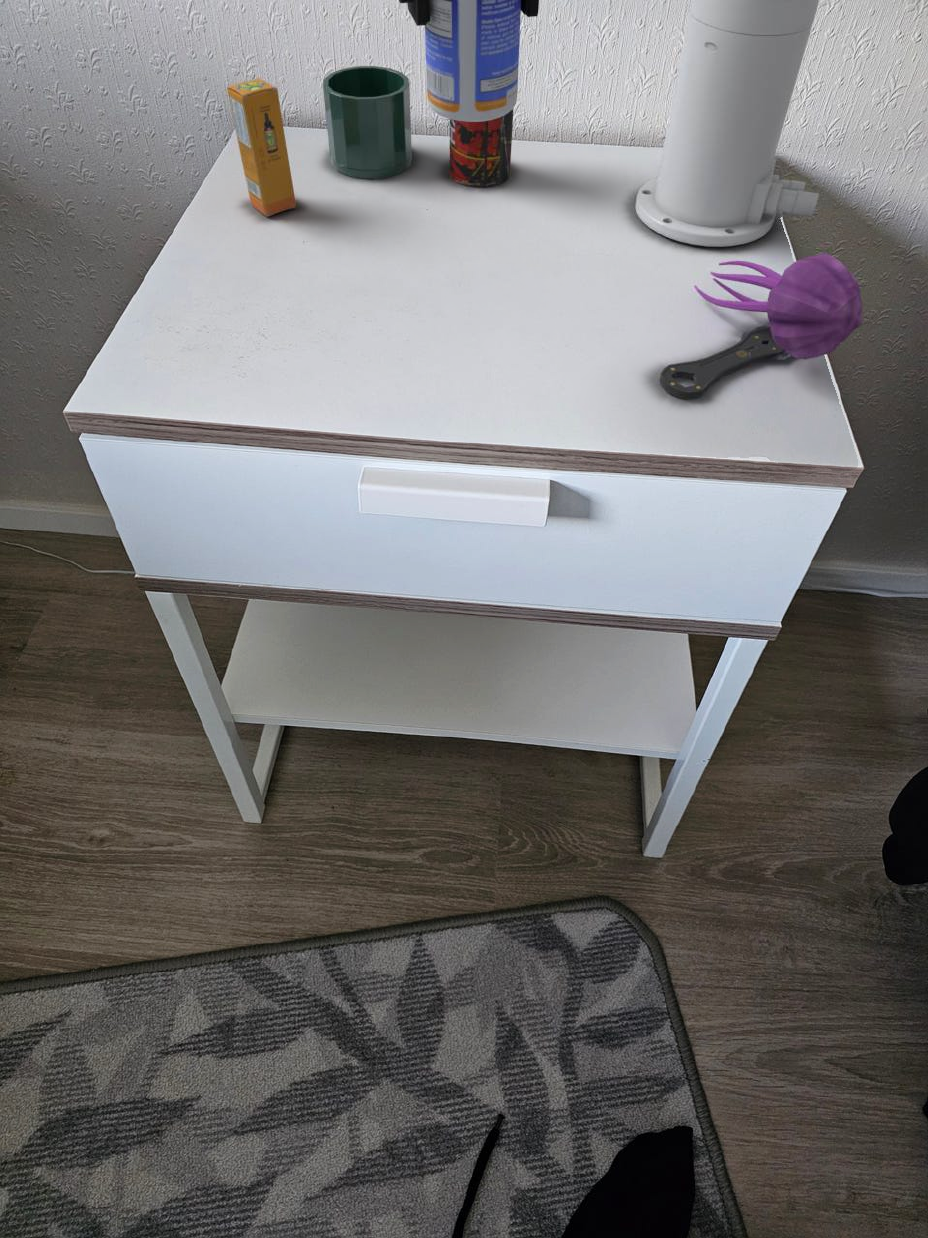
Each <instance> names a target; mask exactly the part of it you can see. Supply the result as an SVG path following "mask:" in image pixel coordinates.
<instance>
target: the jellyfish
mask: <svg viewBox="0 0 928 1238" xmlns="http://www.w3.org/2000/svg"><path fill="white" fill-rule="evenodd" d="M718 266H741V267H747V268H749V269H752V270H754V271H756V272H758V273H760V274H761V275H758V274H757V275H755V274H748V273H747V274H745V273H744V274H743V273H718V272H714V271H710V275H711V276H713V278H712V281H713V282H715V283H716V284H717V285H718V286H720V287H721V288H722V289H723V290H725V291H726V292H727V293H729V294H730V295H731V296H733V297H734V298H736V299H738V300H726V299H724V300H723V299H719V298H715V297H713V296H710V295H708V294H706V293H705V292H704V291H702V290H701V289H700V288H699V287H698V286H697V285H694V286H693V287H694V289H695V291H696V293H698V294H699V295H700V296H701V297H702V298H703V299H704V300H706V301H707V302H709V303H710V304H713V305H715V306H718V307H721V308H725V309H730V310H737V311H745V312H755V313H766V314H767V320H768V324H770V329H771V333H772V337H773V339H774V341H775V343H776V344H777V346H779V347H781V348H782V349H784V350H786V351H787V352H788V353H789V354H790V355H791V356H790V357H793V358H795V359H799V360H810V359H815V358H818V357H822V356H826V355H829V354H831V353H832V352H834V351H835V350H836V349H837V347H838V346H839V345H840V343H842V342H845V340H847V338H848V337H850V335H851V334H852V333H853V332H854V331H855V330H856V329H857V328H859V327H860V326H862V325H863V301H862V300H863V299H862V295H861V288H860V284H859V281H858V280H857V278H856V276H854V274H852V272H851V271H850V270H849V268H848V267H847V266H846V265H845V264H844V263H843V262H842V261H841V260H839V259H837V258H836V257H834V256H832V255H830V254H827V253H825V252H823V253H819V254H816V255H815V254H814V255H812V256H808V257H807V256H806V257H804V258H801V259H799V260H796V261H793V262H792V263H791V264H790V265H789V266H787V267H786V268H784V270H783V273H782V274H779V273H778V272H776V271H775V270H773V269H771V268H769V267H767V266H765V265H761V264H758V263H754V262H750V261H745V260H729V261H725V262H724V261H722V262H718ZM716 278H717V279H716ZM718 279H721V280H726V281H730V282H731V281H732V282H738V283H744V284H749V285H753V286H757V287H761V288H764V289H767V290H770V291H769V292H768V296H767V301H760V300H756V299H753V298H751V297H749V296H746V295H743V294H742V293H739V292H738V291H736V290H734V289H732V288H731V287H729V286H727V285H726V284H724V283H723V282H721V281H720V280H718Z"/></svg>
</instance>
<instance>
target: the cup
mask: <svg viewBox="0 0 928 1238" xmlns="http://www.w3.org/2000/svg"><path fill="white" fill-rule="evenodd" d="M322 89H323V90H322V91H323V101H324V102H323V103H324V110H325V120H326V130H327V138H328V139H327V140H328V148H329V156H330V163H331V165H332V167H333V168H334V169H335V170H336V171H337V172H338V173H341V174H343V175H345V176H348V177H351V178H358V179H366V180H367V179H371V180H373V179H382V178H388V177H393V176H396V175H398V174H400V173H403V172H404V171H406V170H407V169H408V168H409V167H410V166H411V163H412V159H413V158H412V153H413V151H412V149H413V147H412V124H411V123H412V120H411V119H412V117H411V90H410V89H411V88H410V79H409V77H408V76H407V75H405V74H404V73H403V72H401V71H399V70H396V69H393V68H390V67H384V66H383V67H382V66H378V65H377V66H376V65H358V66H357V65H356V66H351V67H344V68H340V69H338V70H336V71H333V72H330V73H329V74H328V75H326V77H324V78H323V80H322Z"/></svg>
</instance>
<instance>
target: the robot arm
mask: <svg viewBox="0 0 928 1238" xmlns="http://www.w3.org/2000/svg"><path fill="white" fill-rule="evenodd" d="M398 2H399V4H406V5H407V10H408V12H409V14H410V16H411V17H412V19H413V21H414V23H415V25H416V26H417V27H420V26H425V25H427V22H430V0H398ZM819 3H820V0H690V5H689V10H688V14H687V21H686V25H685V26H686V27H685V32H684V38H683V42H682V47H681V53H680V58H679V62H678V67H677V68H678V69H677V74H676V79H675V84H674V89H673V93H672V98H671V99H672V100H671V104H670V110H669V114H668V115H669V116H668V121H667V127H666V131H665V137H664V143H663V148H662V153H661V158H660V164H659V169H658V174H657V176H656V177H653V178H651V179H649V180H648V181H647V182H645V183H644V184H642V185H641V187H640V188H639V189H638V191H637V194H636V199H635V200H636V201H635V207H634V208H635V211H636V215H637V216H638V218H639V220H640V221H641V222H642V223H643V224H644V225H645V226H647V227H648V228H649V229H651V230H652V231H654V232H655V233H657V234H659V235H661V236H664V237H665V238H667V239H670V240H671V239H672V240H674V241H677V242H680V243H684V244H688V245H692V246H703V247H715V248H723V247H725V248H726V247H736V246H740V245H746V244H749V243H751V242H755V241H757V240H758V239H760V238H762V237H764V236H765V235H767V233H768V232H770V231H771V229H772V227H773V225H774V222H775V218H776V214H777V212H783V213H788V214H791V215H793V216H800V217H805V218H812V217H813V216H814V214H815V211H816V207H817V204H818V200H819V198H820V197H819V196H820V193H818V192H813V191H806V190H805V188H806V183H807V182H806V181H799V180H793V179H791V180H787V179H781V178H780V177H781V176H780V175H779V174H775V173H774V172H775V168H776V164H777V158H775V155H776V152H777V149H778V145H779V142H780V138H781V135H782V130H783V128H784V125H785V121H786V117H787V114H788V110H789V108H790V103H791V100H792V97H793V93H794V90H795V87H796V83H797V79H798V76H799V73H800V69H801V66H802V63H803V59H804V55H805V51H806V48H807V44H808V41H809V39H810V34H811V31H812V29H813V28H812V27H813V24H814V22H815V17H816V14H817V11H818V7H819ZM539 8H540V0H521V13H522V14H523V15H525V16H526V17H527V18H535V17H538V15H539V10H540V9H539Z"/></svg>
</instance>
